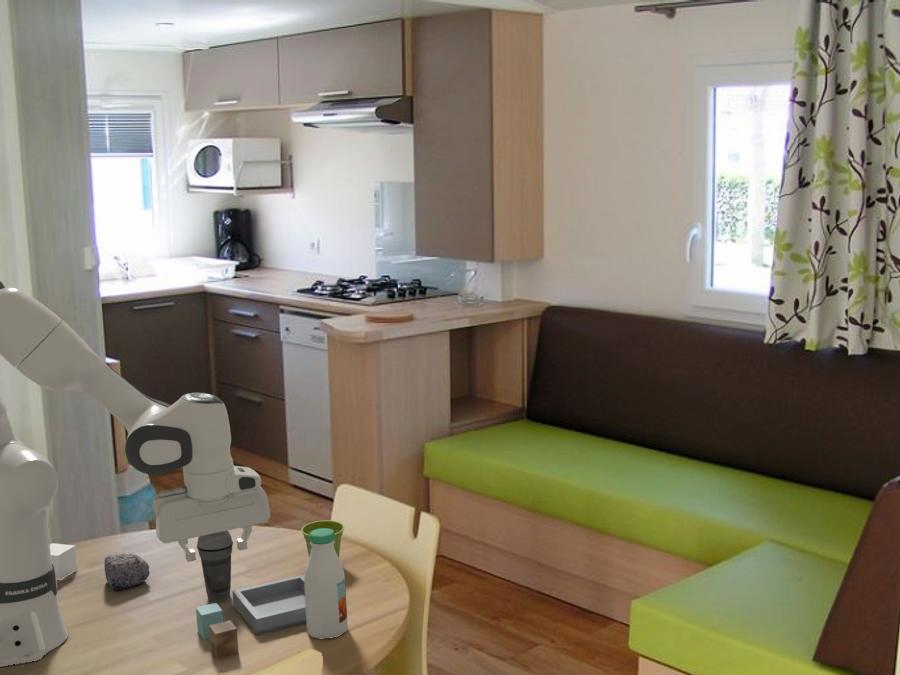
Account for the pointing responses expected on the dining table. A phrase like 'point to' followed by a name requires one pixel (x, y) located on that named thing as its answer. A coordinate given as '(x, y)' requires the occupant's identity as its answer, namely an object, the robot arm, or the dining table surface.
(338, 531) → the plant pot
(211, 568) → the beverage cup
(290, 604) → the tray
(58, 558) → the white cube
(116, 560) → the pumice stone
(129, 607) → the dining table surface
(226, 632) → the walnut block
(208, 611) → the teal block
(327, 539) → the milk bottle
